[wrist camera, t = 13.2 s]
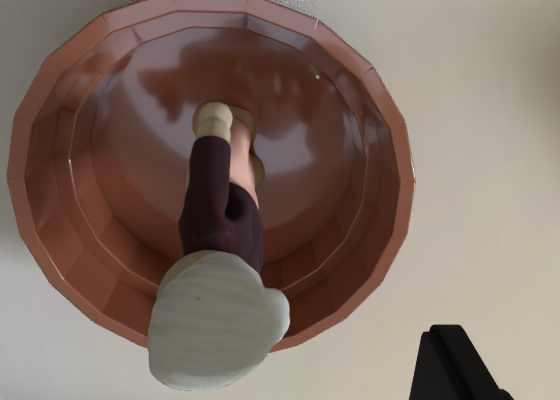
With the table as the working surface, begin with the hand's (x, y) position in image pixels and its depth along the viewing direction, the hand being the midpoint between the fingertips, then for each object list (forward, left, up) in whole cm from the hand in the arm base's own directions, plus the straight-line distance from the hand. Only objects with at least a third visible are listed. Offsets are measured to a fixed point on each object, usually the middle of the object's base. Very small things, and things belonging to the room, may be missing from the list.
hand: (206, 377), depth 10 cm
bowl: (0, 0, -13) cm, 13 cm away
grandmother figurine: (0, 0, -13) cm, 13 cm away
